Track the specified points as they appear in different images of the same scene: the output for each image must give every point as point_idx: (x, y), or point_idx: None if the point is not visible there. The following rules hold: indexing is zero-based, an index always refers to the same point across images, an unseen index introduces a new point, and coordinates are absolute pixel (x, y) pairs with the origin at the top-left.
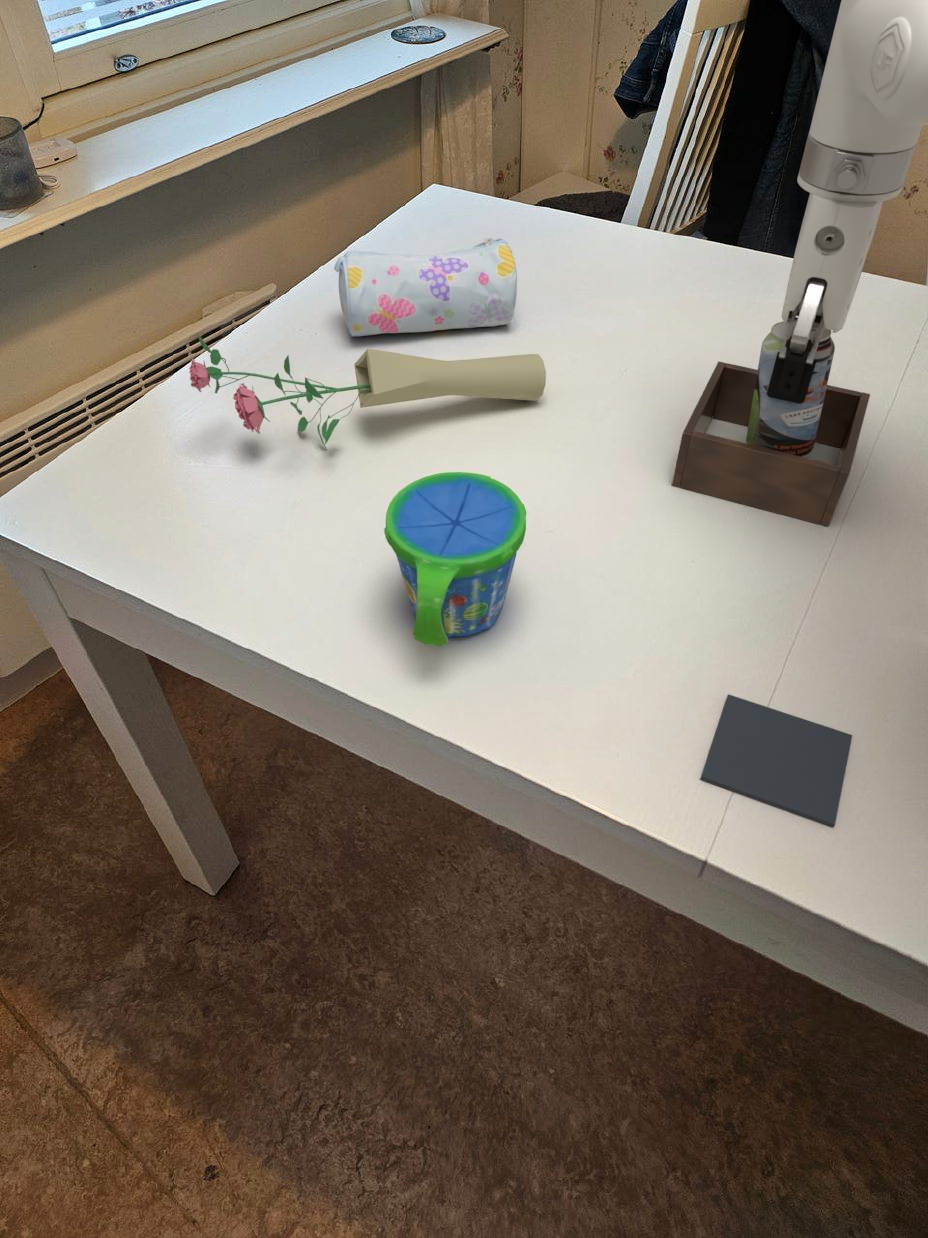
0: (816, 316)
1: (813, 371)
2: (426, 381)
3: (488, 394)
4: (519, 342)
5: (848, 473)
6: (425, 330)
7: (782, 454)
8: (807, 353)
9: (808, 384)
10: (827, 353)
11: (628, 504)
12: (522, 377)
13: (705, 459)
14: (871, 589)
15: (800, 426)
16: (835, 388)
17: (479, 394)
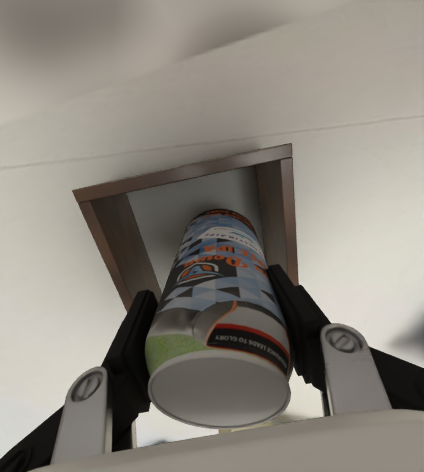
0: (123, 399)
1: (293, 300)
2: None
3: (271, 423)
4: (170, 430)
5: (291, 144)
6: None
7: (290, 232)
8: (416, 373)
9: (292, 284)
10: (247, 313)
11: (313, 297)
12: (253, 427)
13: None
14: (339, 68)
15: (253, 239)
16: (99, 236)
17: None
